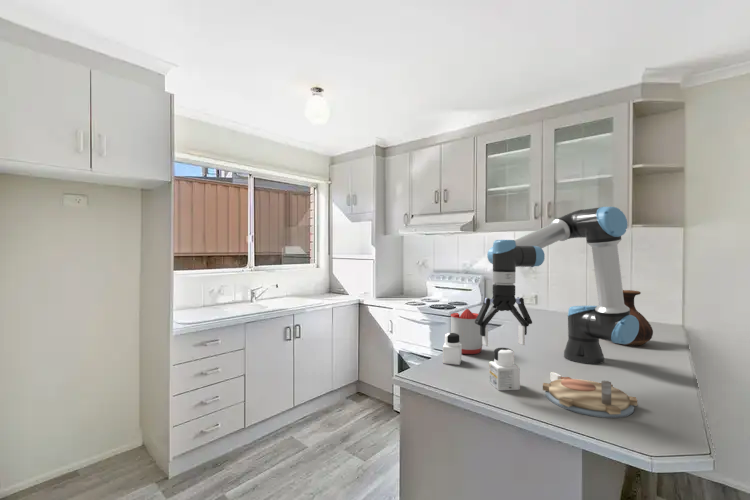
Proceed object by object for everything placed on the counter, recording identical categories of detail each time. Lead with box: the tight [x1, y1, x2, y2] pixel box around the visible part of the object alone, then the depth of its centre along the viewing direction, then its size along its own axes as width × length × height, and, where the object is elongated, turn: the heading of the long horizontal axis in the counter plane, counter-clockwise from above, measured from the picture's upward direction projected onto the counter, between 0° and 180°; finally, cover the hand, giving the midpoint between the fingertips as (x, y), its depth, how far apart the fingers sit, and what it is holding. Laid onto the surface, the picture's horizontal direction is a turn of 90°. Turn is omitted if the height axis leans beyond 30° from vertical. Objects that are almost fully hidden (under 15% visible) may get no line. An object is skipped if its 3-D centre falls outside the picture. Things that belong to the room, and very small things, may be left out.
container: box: [488, 347, 521, 391], centre depth 125 cm, size 8×8×13 cm
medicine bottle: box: [442, 332, 463, 366], centre depth 153 cm, size 7×7×12 cm
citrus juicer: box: [450, 308, 484, 355], centre depth 170 cm, size 16×17×20 cm
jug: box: [617, 289, 654, 346], centre depth 184 cm, size 22×22×30 cm
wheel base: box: [545, 371, 635, 419], centre depth 116 cm, size 29×24×3 cm
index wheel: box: [542, 376, 638, 414], centre depth 114 cm, size 25×24×8 cm
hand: (503, 344), depth 125 cm, fingers open, 13 cm apart
